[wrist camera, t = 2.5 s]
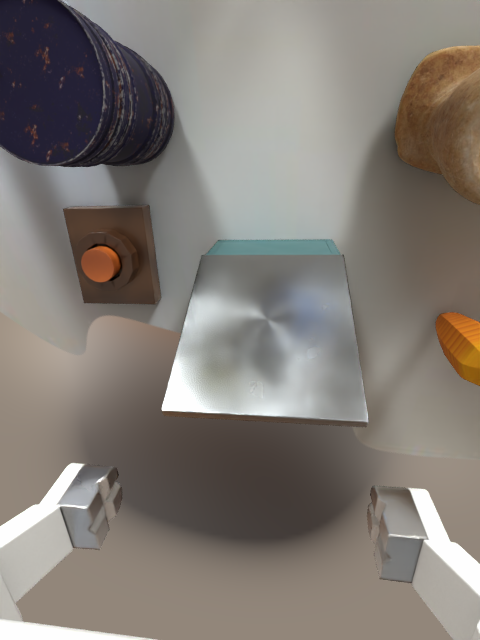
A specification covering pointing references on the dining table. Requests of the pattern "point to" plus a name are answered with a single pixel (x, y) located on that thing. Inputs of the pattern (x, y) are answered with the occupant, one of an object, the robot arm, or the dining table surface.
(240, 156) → the dining table surface
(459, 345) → the carrot
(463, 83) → the stone cup
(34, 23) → the oil barrel
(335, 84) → the dining table surface
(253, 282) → the lid
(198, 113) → the dining table surface
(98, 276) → the button
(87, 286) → the button block
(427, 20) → the dining table surface
